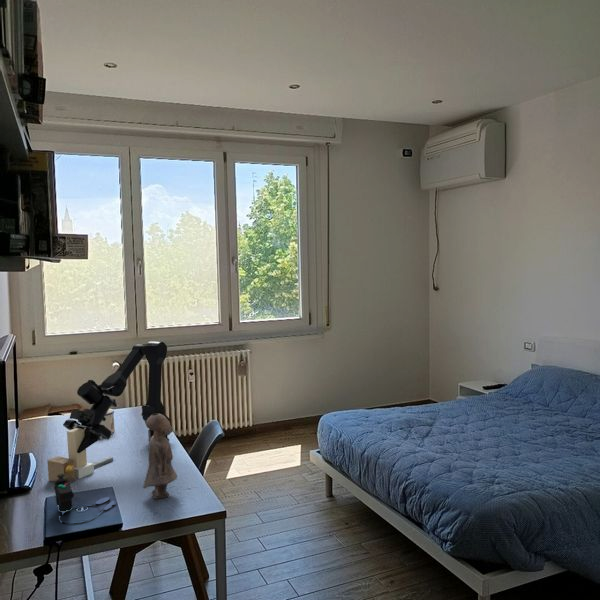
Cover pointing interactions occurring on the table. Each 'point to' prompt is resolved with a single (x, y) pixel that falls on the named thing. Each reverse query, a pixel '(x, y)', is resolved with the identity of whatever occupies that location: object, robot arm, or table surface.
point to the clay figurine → (159, 457)
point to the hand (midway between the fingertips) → (73, 451)
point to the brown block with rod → (67, 467)
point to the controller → (63, 493)
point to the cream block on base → (79, 459)
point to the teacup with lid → (109, 420)
